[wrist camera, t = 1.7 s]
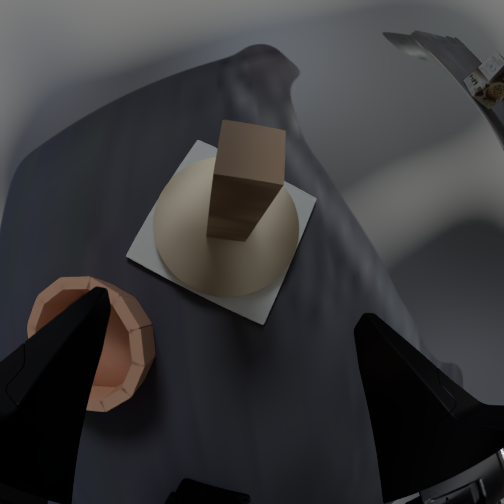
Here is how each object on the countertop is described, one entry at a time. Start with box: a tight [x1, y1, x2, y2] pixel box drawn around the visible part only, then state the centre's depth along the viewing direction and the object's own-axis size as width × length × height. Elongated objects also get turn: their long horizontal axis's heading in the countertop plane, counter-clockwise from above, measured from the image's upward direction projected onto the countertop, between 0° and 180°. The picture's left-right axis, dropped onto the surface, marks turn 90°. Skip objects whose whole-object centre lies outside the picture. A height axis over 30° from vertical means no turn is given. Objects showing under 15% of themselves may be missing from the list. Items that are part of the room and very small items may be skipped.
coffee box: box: [464, 51, 504, 109], centre depth 35 cm, size 9×6×16 cm
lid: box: [153, 120, 299, 297], centre depth 17 cm, size 12×12×11 cm
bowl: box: [27, 276, 156, 412], centre depth 16 cm, size 9×9×4 cm
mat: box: [126, 140, 317, 325], centre depth 22 cm, size 12×12×1 cm
